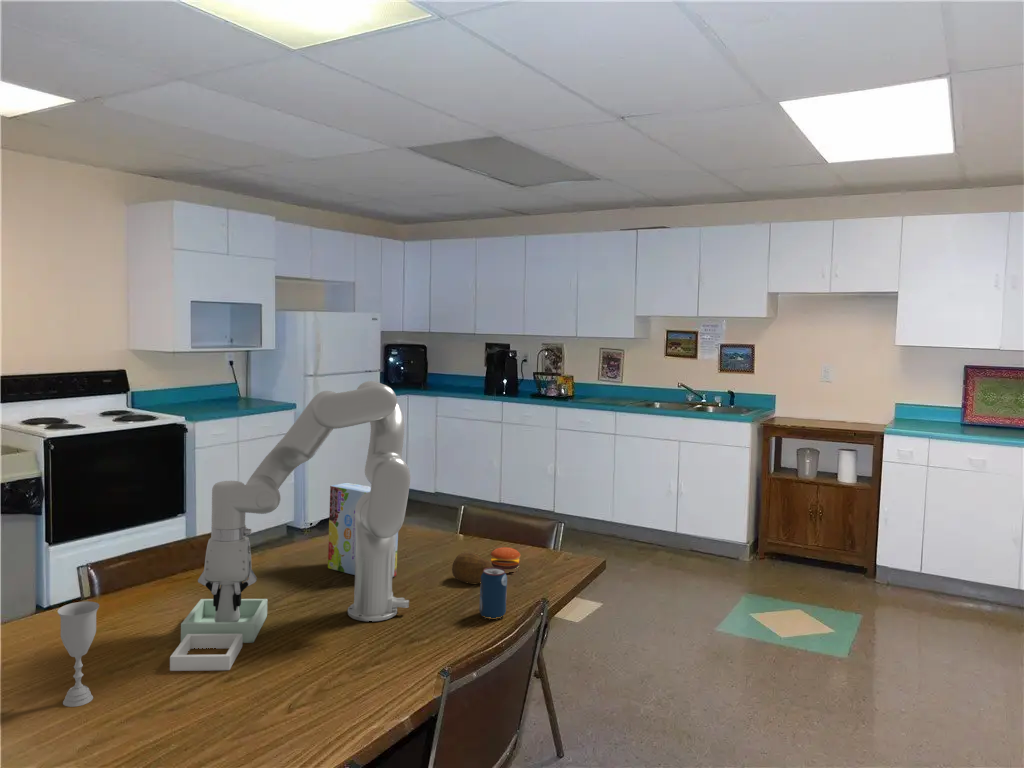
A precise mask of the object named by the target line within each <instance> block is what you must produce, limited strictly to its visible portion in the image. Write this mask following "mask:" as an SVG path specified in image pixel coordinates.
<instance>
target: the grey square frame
mask: <svg viewBox="0 0 1024 768" xmlns="http://www.w3.org/2000/svg"><path fill="white" fill-rule="evenodd" d="M243 645H244V643H243V634H187V635H186V637H185V638H184V639H183V641H182V642H181V641H180V643H179V645H178V646H177V647H176V648H175V650H174V651H173V652H172V653H171V655H170V657H169V671H170V672H182V671H185V672H187V671H189V672H191V671H193V672H194V671H195V672H196V671H197V672H199V671H200V672H201V671H230V670H231V668H232V667H233V664H234V663H235V661H236V659H237V657H238V655H240V654H239V653H240V652H241V649H242V648H243ZM194 648H195V649H196V650H197V649H198V648H199V649H201V650H203V649H205V650H206V648H207V649H208V648H209V649H210V648H213V649H214V648H216V649H228V650H227V651H226V653H225V654H188V653H189V652H190V651H191V650H192V649H193V650H194ZM202 648H203V649H202ZM188 651H189V652H188Z"/></svg>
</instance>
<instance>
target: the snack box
mask: <svg viewBox="0 0 1024 768" xmlns="http://www.w3.org/2000/svg"><path fill="white" fill-rule="evenodd" d="M329 488H330V489H329V494H330V495H329V512H328V513H329V517H328V519H329V520H328V548H327V549H328V551H327V553H328V554H327V569H329V570H334V571H338V572H341V573H345V574H350V575H354V576H355V560H356V525H355V509H356V505H357V502H358V500H359V499H360V498H361V497H362V496H363V495H364V494H365V493H367V492H370V491H371V486H369V485H364V484H363V485H362V484H357V483H351V482H345V483H338V484H331V485H330V487H329ZM393 540H394V547H393V572H392V578H394V577H396V576H397V572H398V571H397V570H398V568H397V567H398V565H397V564H398V543H399V542H398V541H399V531H398V532H397V533H396V534H395V535H393Z"/></svg>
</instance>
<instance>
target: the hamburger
mask: <svg viewBox="0 0 1024 768" xmlns="http://www.w3.org/2000/svg"><path fill="white" fill-rule="evenodd" d="M489 555H490V556H491V558H490V563H491V564H492V567H496V568H502V569H504V570H514V569H516V568H518V567H520V563H521V560H520V558H521V556H522V555H521V553H520V552H519V551H518V550H517V549H515V548H512V547H510V546H509V547H506V546H505V547H504V546H502V547H496V548H495V549H494V550H492V551H490V554H489Z"/></svg>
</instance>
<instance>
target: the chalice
mask: <svg viewBox="0 0 1024 768" xmlns="http://www.w3.org/2000/svg"><path fill="white" fill-rule="evenodd" d="M99 608H100V604H99V603H98V602H97V601H96V602H95V601H91V600H90V601H87V600H86V601H78V602H72V603H68V604H65V605H63V606H61V607H60V608H59V609H57V614H58V615H59V617H60V639H61V641H62V644H63V646H64V648H65V650H66V651H67V653H68V654H69V656H70V657H72V658H75V663H74V665H73V668H74V670H75V672H74V674H73V675H72V677H73V678H74V680H75V683H74V685H73V686H72V687H70V688H69V689H68V691H67V692H66V695H65V697H64V700H63V701H62V705H63V706H65V707H69V708H70V707H71V708H72V707H73V708H74V707H81V706H84V705H86V704H88V703H90V702H92V701H93V699H94V695H92V692H91V690H90V687H88V686H87V685H85V684H83V683H82V677H84V673H83V672H82V668H83V667H84V666H83V665H84V664H83V662H82V657H83V656H85V655H86V654H87V653H88V651H89V650H90V647H91V645H92V643H93V640H94V639H95V635H96V633H97V612H98V610H99Z"/></svg>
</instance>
